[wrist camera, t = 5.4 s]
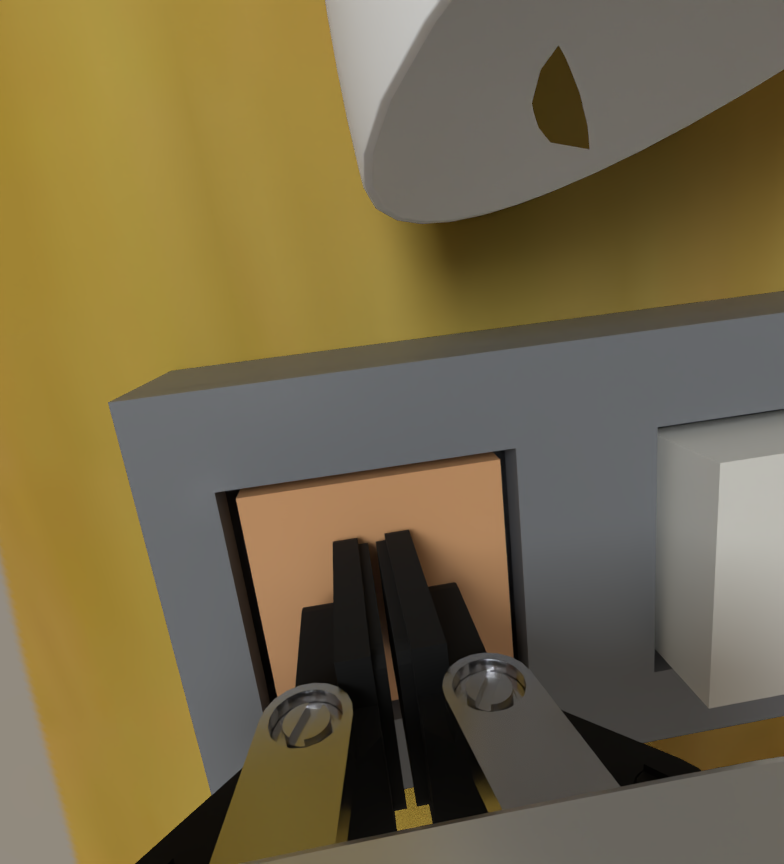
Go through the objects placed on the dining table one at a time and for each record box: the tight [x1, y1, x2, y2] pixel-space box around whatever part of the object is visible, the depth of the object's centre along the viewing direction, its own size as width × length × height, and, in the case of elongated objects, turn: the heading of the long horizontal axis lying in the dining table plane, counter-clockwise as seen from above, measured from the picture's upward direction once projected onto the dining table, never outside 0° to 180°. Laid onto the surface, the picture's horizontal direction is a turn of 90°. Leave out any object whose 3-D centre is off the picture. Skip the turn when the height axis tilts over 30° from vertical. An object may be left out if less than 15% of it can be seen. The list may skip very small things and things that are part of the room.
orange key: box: [236, 452, 514, 701], centre depth 13 cm, size 5×5×2 cm
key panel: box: [108, 291, 784, 795], centre depth 14 cm, size 18×10×4 cm, turn 97°
